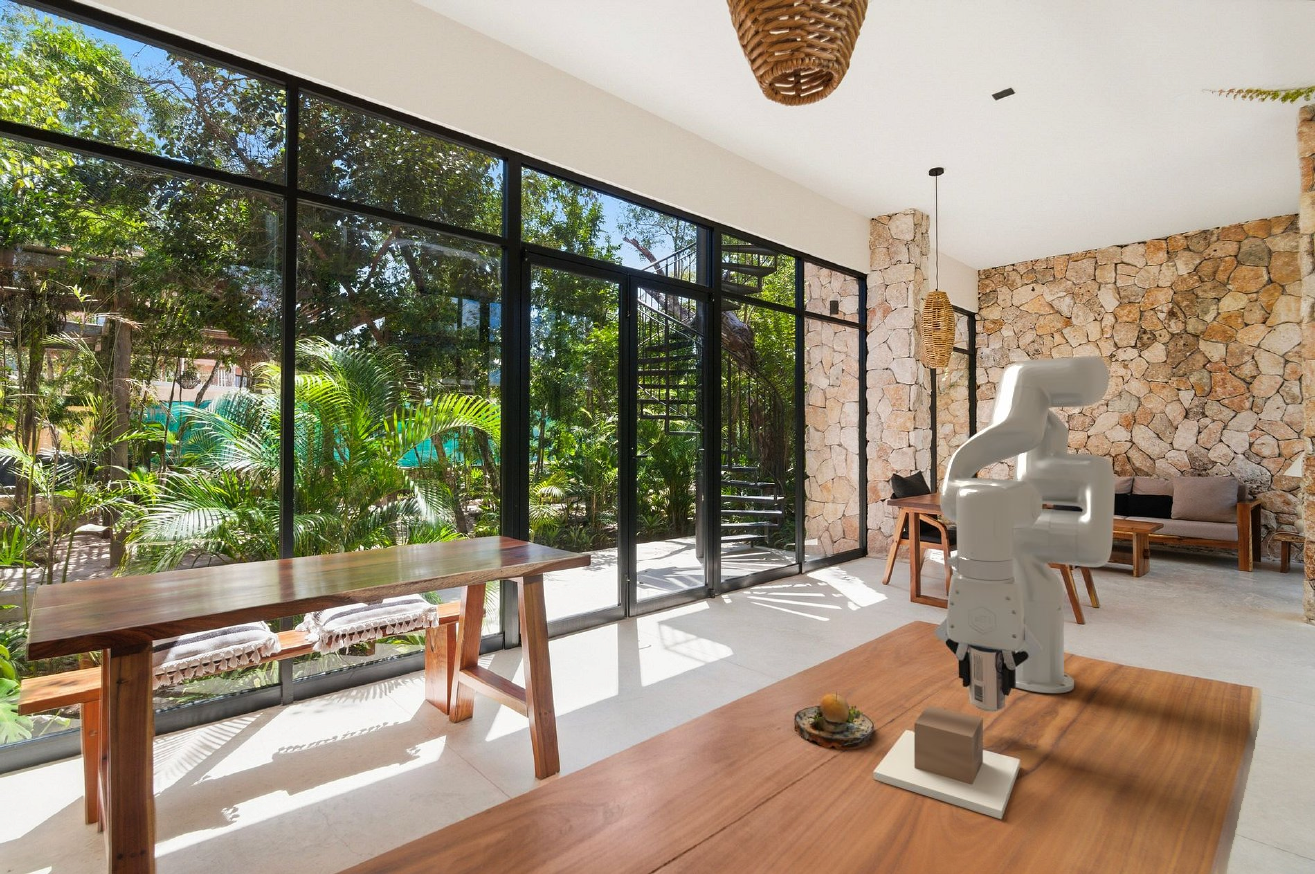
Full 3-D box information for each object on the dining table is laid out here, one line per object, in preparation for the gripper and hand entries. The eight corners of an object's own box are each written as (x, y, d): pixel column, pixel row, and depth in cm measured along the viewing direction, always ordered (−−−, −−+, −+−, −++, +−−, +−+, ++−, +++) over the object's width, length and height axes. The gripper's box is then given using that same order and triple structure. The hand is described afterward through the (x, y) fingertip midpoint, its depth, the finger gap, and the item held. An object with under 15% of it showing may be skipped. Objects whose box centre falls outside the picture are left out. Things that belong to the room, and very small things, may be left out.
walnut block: (928, 747, 91) (928, 704, 91) (982, 762, 87) (982, 717, 87) (914, 767, 86) (914, 722, 86) (972, 784, 81) (972, 737, 81)
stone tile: (906, 736, 97) (906, 729, 97) (1019, 766, 88) (1020, 759, 88) (873, 779, 85) (873, 771, 85) (1001, 819, 76) (1001, 810, 76)
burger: (879, 724, 102) (879, 676, 102) (869, 758, 91) (869, 705, 91) (802, 710, 107) (802, 665, 107) (785, 741, 96) (785, 690, 96)
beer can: (1009, 714, 95) (1008, 633, 94) (974, 712, 96) (973, 632, 95) (999, 699, 99) (998, 622, 99) (965, 698, 100) (964, 621, 100)
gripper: (918, 567, 99) (921, 684, 99) (1048, 581, 89) (1049, 711, 89) (931, 557, 105) (933, 667, 105) (1053, 569, 95) (1055, 691, 95)
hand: (986, 686), depth 97 cm, fingers closed on beer can, 4 cm apart
